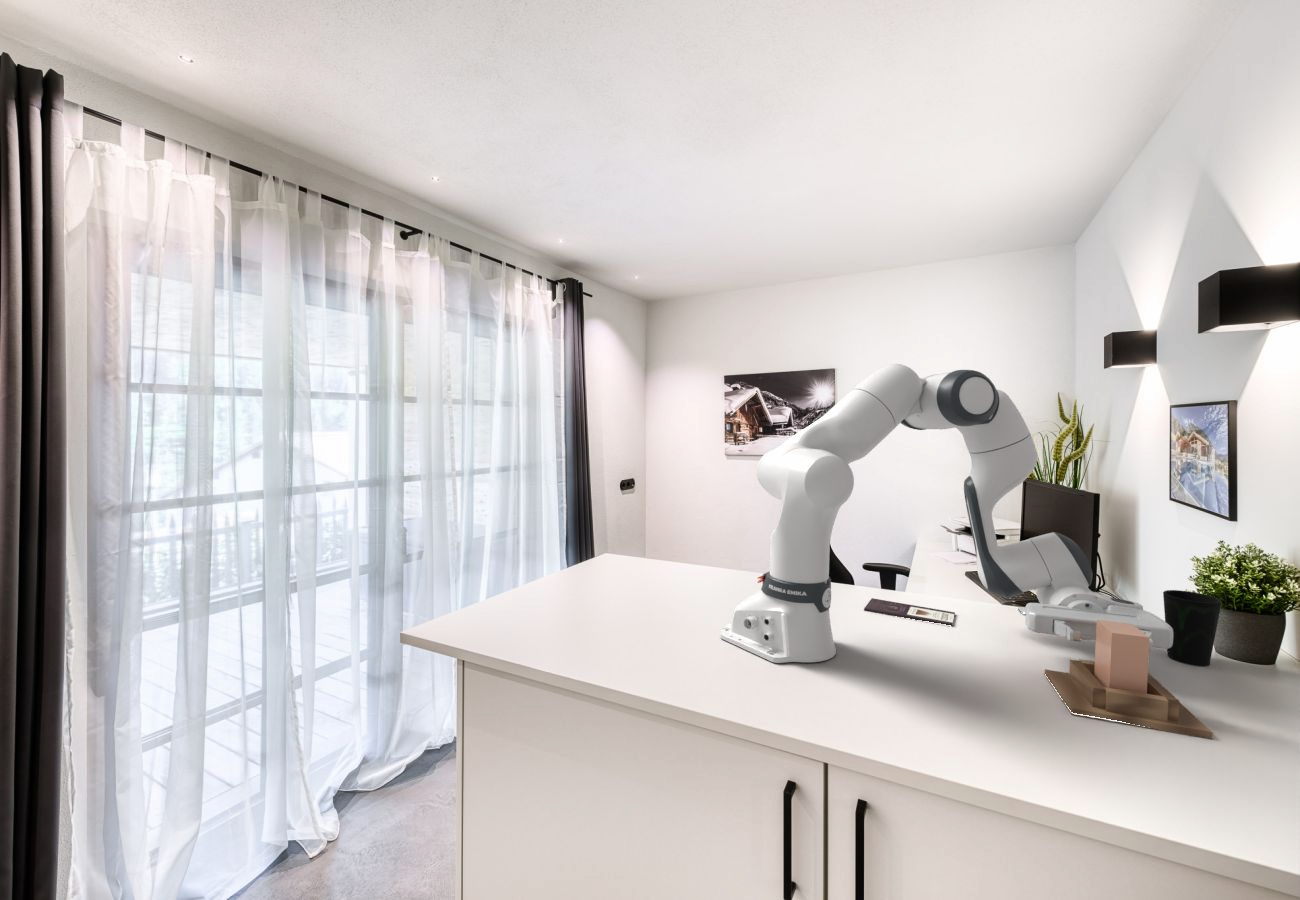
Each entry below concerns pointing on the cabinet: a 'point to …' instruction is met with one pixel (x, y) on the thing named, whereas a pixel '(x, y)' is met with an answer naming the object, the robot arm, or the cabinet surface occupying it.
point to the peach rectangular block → (1121, 656)
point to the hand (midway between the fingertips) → (1110, 641)
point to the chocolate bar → (910, 611)
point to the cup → (1191, 625)
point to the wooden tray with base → (1124, 701)
